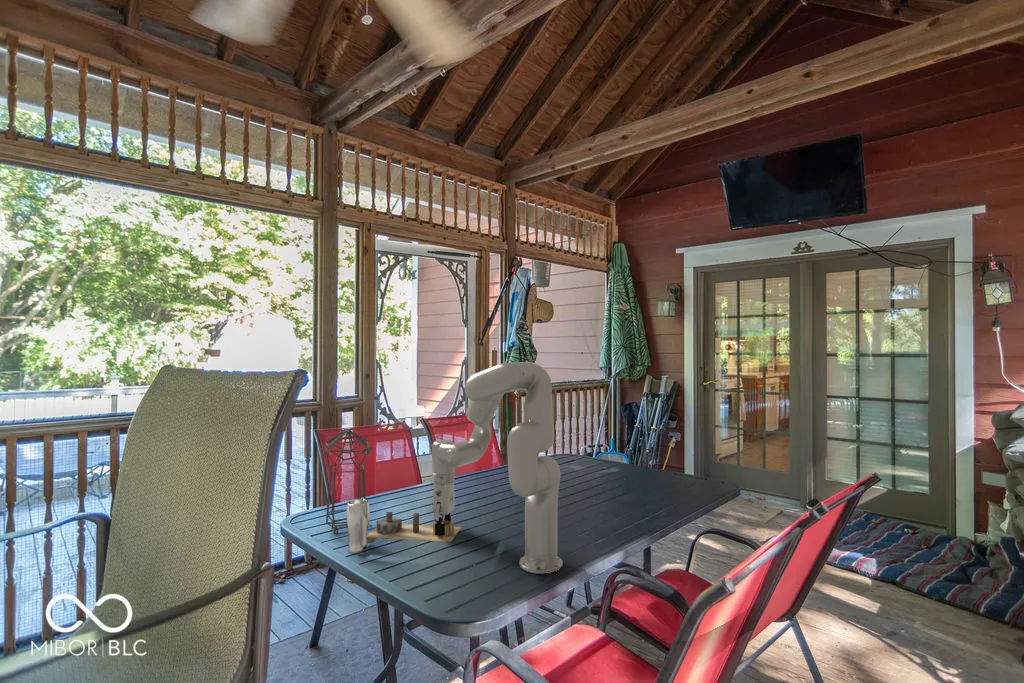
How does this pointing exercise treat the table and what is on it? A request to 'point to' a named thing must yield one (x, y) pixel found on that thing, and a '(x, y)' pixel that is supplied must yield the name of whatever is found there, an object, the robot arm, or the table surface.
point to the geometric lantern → (337, 438)
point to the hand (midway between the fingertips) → (443, 530)
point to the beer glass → (358, 524)
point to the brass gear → (446, 528)
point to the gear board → (406, 530)
